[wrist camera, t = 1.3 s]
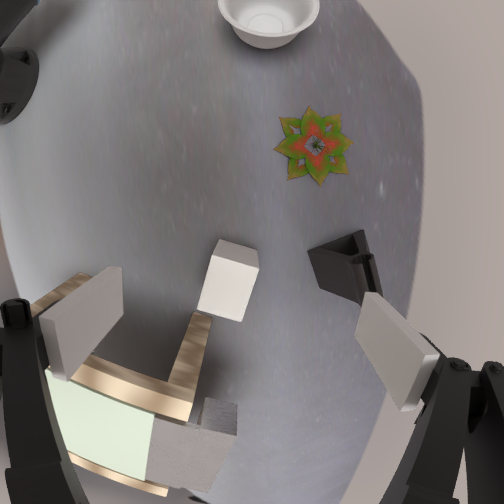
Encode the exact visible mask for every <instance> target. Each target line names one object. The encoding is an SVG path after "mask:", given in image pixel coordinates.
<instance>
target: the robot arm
mask: <svg viewBox="0 0 504 504" xmlns="http://www.w3.org/2000/svg"><path fill="white" fill-rule="evenodd" d="M39 2H40V0H0V47H1V46H2V45H3V43H4V42H5V41H6V39H7V38H8V37H9V35H10V34H11V33H12V32H13V30H14V29H15V28H16V27H17V25H18V24H19V23H20V22H21V21H22V19H23V18H24V17H25V16H26V15H27V14H28V13H29V11H30V10H31V9H32V8H33V7H34V6H36V5H37V4H38V3H39ZM38 71H39V64H38V59H37V57H36V55H35V54H34V53H33V52H32V51H30V50H28V49H26V48H22V47H15V48H0V125H1V124H6V123H8V122H10V121H12V120H13V119H14V118H15V117H16V116H18V114H19V113H20V112H21V111H22V110H23V108H24V107H25V106H26V104H27V102H28V101H29V99H30V97H31V95H32V93H33V90H34V88H35V85H36V82H37V78H38ZM0 310H1V315H2V319H3V324H4V328H0V400H1V395H2V392H3V408H4V421H5V430H6V438H7V445H8V452H9V457H10V463H11V468H7V469H6V470H5V478H6V484H7V488H8V493H9V496H10V501H11V504H90V503H89V502H88V499H87V497H86V495H85V493H84V491H83V488H82V486H81V484H80V482H79V479H78V477H77V475H76V472H75V470H74V467H73V465H72V462H71V459H70V457H69V454H68V451H67V448H66V446H65V443H64V440H63V437H62V434H61V430H60V427H59V424H58V420H57V417H56V413H55V410H54V406H53V402H52V398H51V394H50V390H49V386H48V381H47V377H46V373H45V370H46V369H47V368H48V366H49V365H50V369H51V373H52V376H53V377H54V378H56V379H59V380H62V381H65V382H68V381H69V380H70V379H71V377H72V376H73V375H74V374H75V372H76V371H77V370H78V369H79V367H80V366H81V365H82V364H83V362H84V361H85V360H86V359H87V357H88V356H89V355H90V354H91V353H92V351H93V350H94V349H95V348H96V346H97V345H98V344H99V343H100V342H101V340H102V339H103V338H104V337H105V336H106V334H107V333H108V332H109V331H110V330H111V328H112V327H113V326H114V325H115V324H116V323H117V321H118V320H119V319H120V318H121V317H122V316H123V314H124V311H123V291H122V268H121V267H113V266H109V267H107V268H106V269H104V270H103V271H101V272H100V273H98V274H97V275H96V276H94V277H93V278H91V279H90V280H88V281H87V282H85V283H84V284H83V285H81V286H80V287H78V288H77V289H76V290H74V291H73V292H71V293H70V294H69V295H67V296H66V297H64V298H62V299H59V300H57V301H54V302H53V303H51V304H50V305H49V306H48V307H46V308H45V309H43V311H40V312H39V313H38V314H36V315H35V316H34V317H32V315H31V309H30V303H29V301H27V300H25V299H21V298H17V299H10V300H7V301H5V302H4V303H2V304H1V306H0ZM354 337H355V339H356V340H357V342H358V343H359V345H360V347H361V348H362V350H363V351H364V353H365V355H366V356H367V358H368V359H369V361H370V363H371V364H372V366H373V367H374V369H375V371H376V372H377V374H378V376H379V377H380V379H381V381H382V382H383V384H384V386H385V387H386V389H387V390H388V392H389V394H390V395H391V397H392V399H393V401H394V402H395V404H396V406H397V407H398V409H399V411H408V410H415V408H416V406H417V404H418V402H419V400H420V398H421V399H422V400H423V402H424V403H425V404H424V406H423V408H422V410H421V412H420V414H419V415H418V418H417V419H416V421H415V423H414V424H416V426H415V429H414V431H413V434H412V436H411V439H410V441H409V444H408V446H407V448H406V451H405V453H404V455H403V457H402V460H401V462H400V464H399V466H398V468H397V470H396V472H395V475H394V477H393V479H392V481H391V482H390V485H389V486H388V488H387V490H386V492H385V494H384V496H383V498H382V499H381V501H380V503H379V504H459V503H460V502H459V500H458V499H456V498H452V497H453V492H454V489H455V485H456V480H457V477H458V472H459V468H460V463H461V458H462V453H463V448H464V451H465V461H466V472H467V487H468V488H467V489H468V504H504V366H502V364H501V363H498V362H493V361H487V362H485V364H484V365H483V368H482V370H481V371H472V370H471V367H470V365H469V364H468V363H467V362H465V361H464V360H461V359H459V358H454V357H453V358H447V357H446V356H445V355H444V354H443V353H442V352H441V351H440V350H439V349H438V348H437V347H435V345H434V344H433V343H431V341H430V340H429V339H428V338H427V337H426V336H424V335H423V334H421V333H419V332H418V331H417V330H416V329H415V328H413V326H412V325H410V323H409V322H407V321H406V320H405V319H404V318H403V317H402V316H401V315H400V314H399V313H398V312H397V311H396V310H395V309H394V308H393V307H392V306H391V305H390V304H389V303H388V302H387V301H386V300H385V299H384V298H383V297H381V296H380V295H379V294H378V293H375V292H365V295H364V299H363V303H362V308H361V312H360V316H359V320H358V323H357V327H356V331H355V335H354Z"/></svg>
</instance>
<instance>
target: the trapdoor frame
mask: <svg viewBox="0 0 504 504" xmlns="http://www.w3.org/2000/svg"><path fill="white" fill-rule="evenodd" d="M91 278H93V277H90V276H88V275H85V274H83V273H78V274H77V275H75V276H74V277H72V278H71V279H69V280H68V281H66V282H64V283H63V284H61V285H60V286H58V287H57V288H55V289H54V290H52V291H51V292H49V293H48V294H46V295H45V296H43V297H42V298H40V299H39V300H37V301H36V302H35V303H33V304H32V305H30V309H31V315H32V317H34V316H35V315H36V314H38V313H39V312H40V311H43V309H45V308H46V307H48V306H49V305H50V304H51V303H53V302H54V301H57V300H59V299H62V298H64V297H66V296H67V295H69V294H70V293H71V292H73V291H74V290H76V289H77V288H78V287H80V286H81V285H83V284H84V283H85V282H87V281H88V280H90V279H91ZM211 322H212V317H209V316H206V315H202V314H199V313H196V312H193V315H192V317H191V320H190V323H189V325H188V328H187V331H186V333H185V336H184V339H183V341H182V344H181V347H180V349H179V352H178V355H177V358H176V360H175V363H174V366H173V368H172V371H171V374H170V377H169V380H168V382H165V381H162V380H159V379H156V378H153V377H150V376H147V375H144V374H141V373H138V372H135V371H133V370H130V369H127V368H124V367H122V366H119V365H117V364H114V363H112V362H109V361H107V360H104V359H102V358H99V357H97V356H94V355H92V354H90V355H89V356H88V357H87V359H86V360H85V361H84V362H83V364H82V365H81V366H80V367H79V369H78V370H77V371H76V372H75V374H74V375H73V376H72V377H71V379H73V380H75V381H77V382H79V383H81V384H84V385H86V386H88V387H90V388H93V389H95V390H97V391H100V392H102V393H104V394H107V395H109V396H112V397H114V398H117V399H120V400H122V401H125V402H127V403H130V404H133V405H136V406H139V407H141V408H144V409H147V410H150V411H153V412H156V413H159V414H163V415H166V416H169V417H172V418H176V419H179V420H183V421H187V422H188V418H189V415H190V411H191V408H192V405H193V401H194V396H195V392H196V387H197V383H198V378H199V374H200V369H201V365H202V360H203V356H204V352H205V347H206V343H207V339H208V334H209V330H210V326H211ZM48 367H49V368H50V365H49V366H48ZM67 451H68V454H69V457H70V459H71V462H73V463H75V464H77V465H79V466H81V467H83V468H86V469H88V470H90V471H92V472H95V473H97V474H100V475H102V476H105V477H107V478H110V479H112V480H115V481H118V482H120V483H123V484H126V485H129V486H131V487H135V488H138V489H141V490H144V491H147V492H150V493H154V494H157V495H161V496H164V497H166V495H167V492H168V488H169V486H167V485H163V484H160V483H156V482H153V481H149V480H146V479H145V480H144V481H143V480H140V479H137V478H134V477H131V476H128V475H125V474H122V473H120V472H117V471H114V470H112V469H109V468H107V467H104V466H102V465H99V464H97V463H95V462H92V461H90V460H88V459H85V458H83V457H81V456H79V455H77V454H75V453H73V452H71V451H69V450H67Z"/></svg>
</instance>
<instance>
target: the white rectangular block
mask: <svg viewBox="0 0 504 504" xmlns="http://www.w3.org/2000/svg"><path fill="white" fill-rule="evenodd" d="M258 271H259V262H258V255H257V250H255V249H251V248H248V247H245V246H241V245H238V244H235V243H231V242H228V241H225V240H222V239H219V241H218V243H217V245H216V247H215V250H214V252H213V254H212V257H211V260H210V264H209V267H208V271H207V274H206V278H205V282H204V285H203V289H202V292H201V296H200V300H199V303H198V307H197V309H198V310H201V311H204V312H208V313H211V314H214V315H218V316H221V317H225V318H228V319H232V320H235V321H239V322H241V321H242V319H243V316H244V313H245V310H246V307H247V304H248V301H249V298H250V295H251V292H252V289H253V286H254V283H255V280H256V277H257V274H258Z"/></svg>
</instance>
